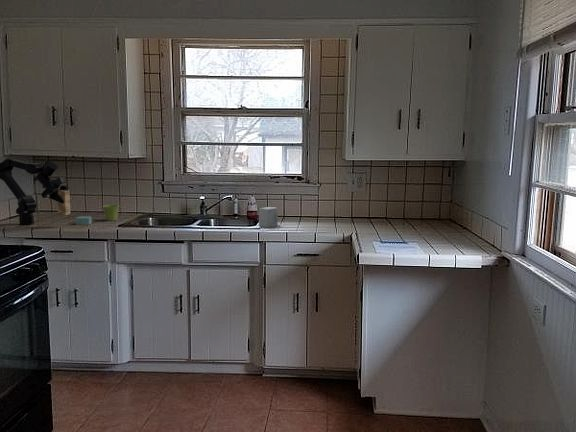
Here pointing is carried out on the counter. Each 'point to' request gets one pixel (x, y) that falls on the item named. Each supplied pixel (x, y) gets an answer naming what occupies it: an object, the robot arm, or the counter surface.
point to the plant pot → (111, 212)
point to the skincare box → (268, 216)
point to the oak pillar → (65, 207)
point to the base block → (84, 220)
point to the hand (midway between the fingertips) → (66, 202)
